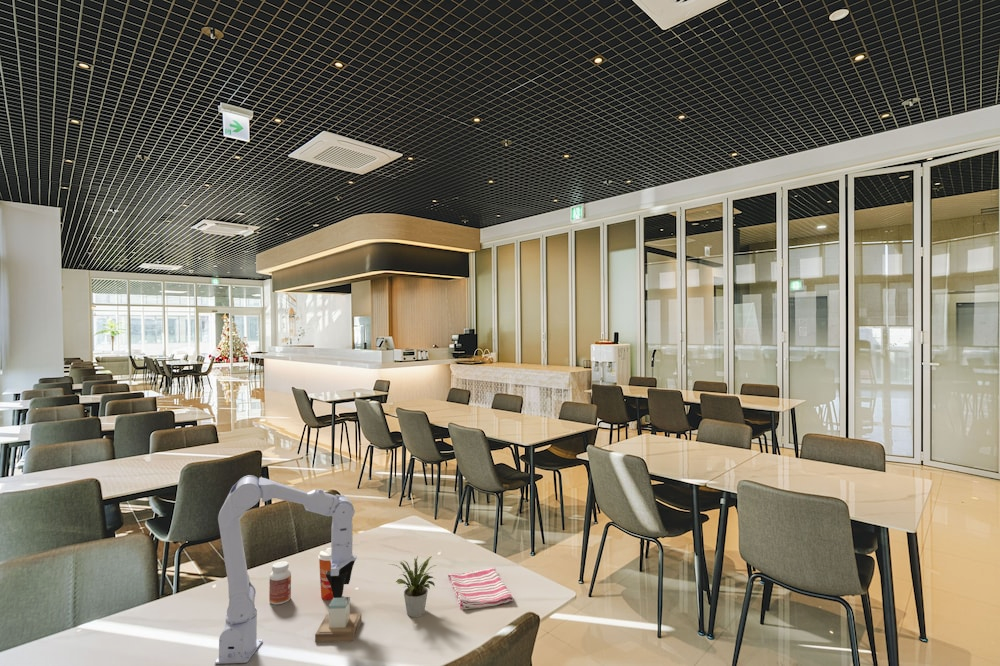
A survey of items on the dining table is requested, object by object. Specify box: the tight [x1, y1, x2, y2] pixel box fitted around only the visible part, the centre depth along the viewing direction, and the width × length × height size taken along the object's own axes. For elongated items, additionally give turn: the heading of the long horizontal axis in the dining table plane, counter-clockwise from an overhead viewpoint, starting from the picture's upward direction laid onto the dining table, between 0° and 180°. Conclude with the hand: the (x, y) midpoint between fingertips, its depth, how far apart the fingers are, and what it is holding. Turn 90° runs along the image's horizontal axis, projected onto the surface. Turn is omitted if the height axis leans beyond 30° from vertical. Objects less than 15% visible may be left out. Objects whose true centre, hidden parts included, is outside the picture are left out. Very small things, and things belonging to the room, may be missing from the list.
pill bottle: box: [268, 560, 292, 605], centre depth 156 cm, size 6×6×11 cm
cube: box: [328, 596, 351, 628], centre depth 139 cm, size 5×5×6 cm
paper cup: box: [317, 547, 333, 601], centre depth 159 cm, size 8×8×14 cm
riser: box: [314, 613, 362, 643], centre depth 139 cm, size 10×10×2 cm
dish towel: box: [447, 567, 514, 610], centre depth 163 cm, size 17×23×4 cm
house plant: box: [387, 555, 437, 618], centre depth 148 cm, size 14×14×16 cm
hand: (341, 590), depth 141 cm, fingers open, 7 cm apart
